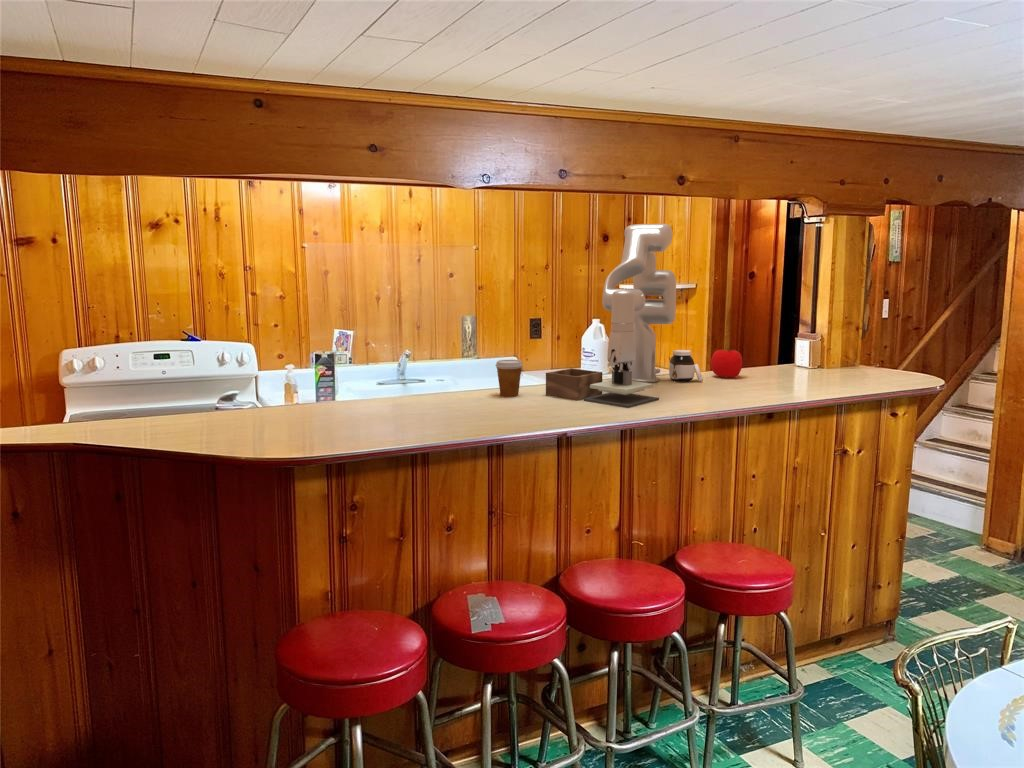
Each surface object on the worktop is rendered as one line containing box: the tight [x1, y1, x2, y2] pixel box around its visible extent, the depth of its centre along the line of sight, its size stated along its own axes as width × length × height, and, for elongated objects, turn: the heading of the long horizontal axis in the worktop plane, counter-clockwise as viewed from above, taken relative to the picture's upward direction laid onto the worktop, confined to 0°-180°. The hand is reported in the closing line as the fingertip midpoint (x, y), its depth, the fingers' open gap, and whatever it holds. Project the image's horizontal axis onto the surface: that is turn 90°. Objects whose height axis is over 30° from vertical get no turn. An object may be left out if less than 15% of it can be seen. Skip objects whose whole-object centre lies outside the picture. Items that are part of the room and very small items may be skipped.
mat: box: [583, 392, 660, 409], centre depth 247 cm, size 18×18×1 cm
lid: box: [590, 369, 654, 395], centre depth 246 cm, size 15×15×7 cm
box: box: [545, 367, 603, 401], centre depth 257 cm, size 14×14×8 cm
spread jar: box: [668, 349, 703, 383], centre depth 284 cm, size 12×11×12 cm
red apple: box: [710, 348, 743, 379], centre depth 292 cm, size 12×13×12 cm
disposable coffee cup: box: [495, 359, 523, 398], centre depth 257 cm, size 10×10×12 cm
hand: (621, 382), depth 246 cm, fingers closed on lid, 3 cm apart
